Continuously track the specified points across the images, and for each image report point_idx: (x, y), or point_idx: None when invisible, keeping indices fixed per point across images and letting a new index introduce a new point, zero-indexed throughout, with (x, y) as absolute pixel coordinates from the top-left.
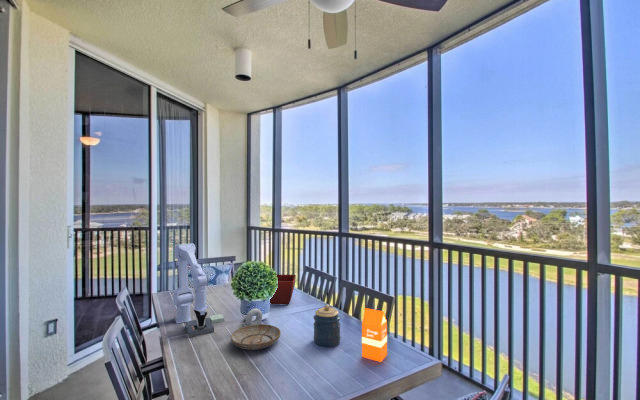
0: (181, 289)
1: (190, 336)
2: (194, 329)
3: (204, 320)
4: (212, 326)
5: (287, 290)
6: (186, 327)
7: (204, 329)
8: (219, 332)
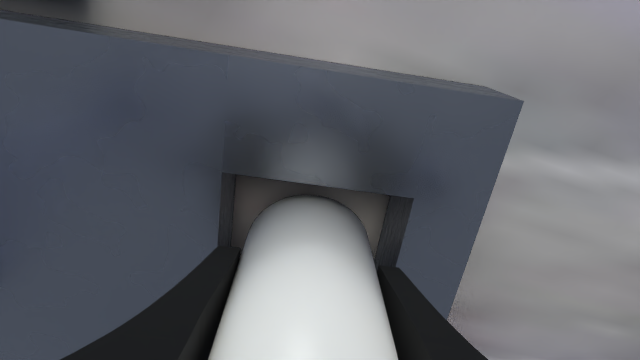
0: None
1: None
2: None
3: (452, 327)
4: (455, 110)
5: None
6: None
7: (467, 249)
8: (557, 15)
